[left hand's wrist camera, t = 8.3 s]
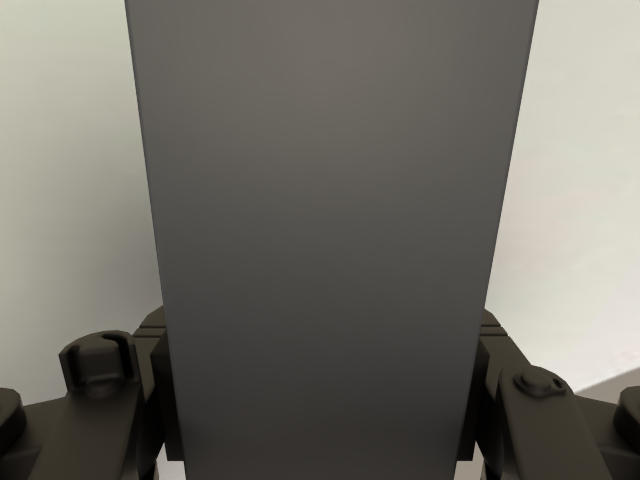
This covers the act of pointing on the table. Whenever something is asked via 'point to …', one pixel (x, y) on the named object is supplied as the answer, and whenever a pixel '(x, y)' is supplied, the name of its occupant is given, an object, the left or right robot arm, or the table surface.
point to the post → (326, 222)
